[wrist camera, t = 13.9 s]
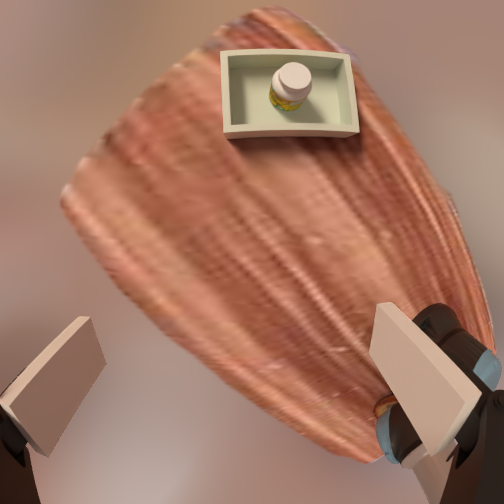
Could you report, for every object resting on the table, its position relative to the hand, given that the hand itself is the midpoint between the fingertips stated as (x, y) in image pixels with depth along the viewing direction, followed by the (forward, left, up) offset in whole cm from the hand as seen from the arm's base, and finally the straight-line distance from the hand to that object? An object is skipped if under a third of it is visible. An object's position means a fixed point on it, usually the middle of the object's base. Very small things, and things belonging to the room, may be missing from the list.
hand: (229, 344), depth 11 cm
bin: (+20, -8, -33) cm, 39 cm away
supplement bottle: (+20, -8, -32) cm, 38 cm away
